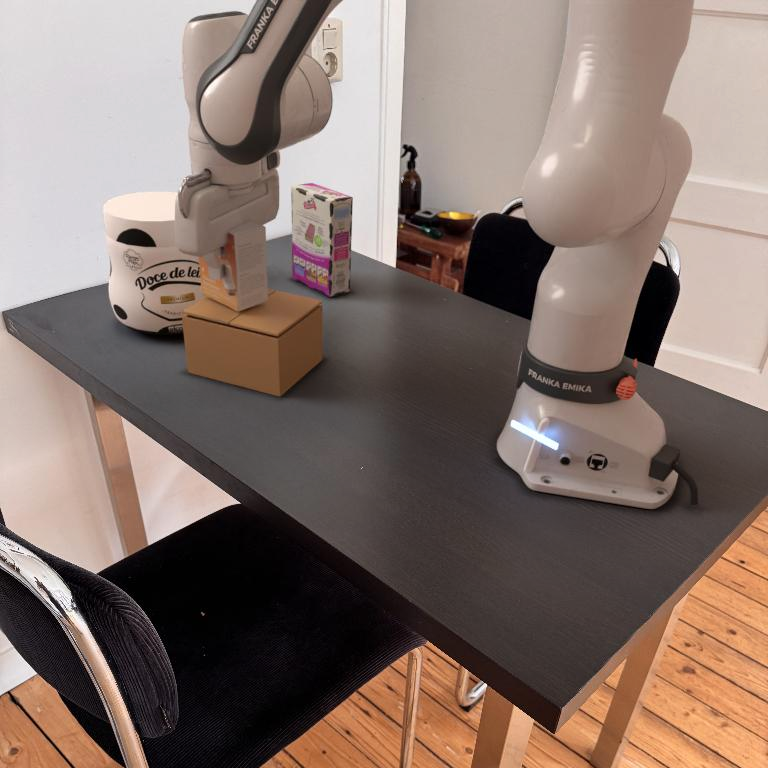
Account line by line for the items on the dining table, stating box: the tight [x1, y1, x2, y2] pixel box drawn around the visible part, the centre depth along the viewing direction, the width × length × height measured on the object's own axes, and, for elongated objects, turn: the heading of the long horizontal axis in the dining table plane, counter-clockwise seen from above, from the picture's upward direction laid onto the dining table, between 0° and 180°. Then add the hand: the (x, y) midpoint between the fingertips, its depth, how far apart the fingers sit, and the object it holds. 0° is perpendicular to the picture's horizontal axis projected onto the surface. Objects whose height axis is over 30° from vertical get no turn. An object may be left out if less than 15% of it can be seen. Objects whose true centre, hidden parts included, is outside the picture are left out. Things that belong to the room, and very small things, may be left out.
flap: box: [229, 290, 323, 336], centre depth 109 cm, size 7×13×1 cm, turn 157°
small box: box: [199, 222, 269, 311], centre depth 107 cm, size 8×6×10 cm
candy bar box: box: [290, 182, 354, 298], centre depth 137 cm, size 11×5×16 cm, turn 43°
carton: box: [182, 288, 323, 398], centre depth 112 cm, size 15×13×9 cm
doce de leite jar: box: [102, 190, 206, 336], centre depth 121 cm, size 17×17×18 cm
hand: (233, 269), depth 108 cm, fingers closed on small box, 6 cm apart
